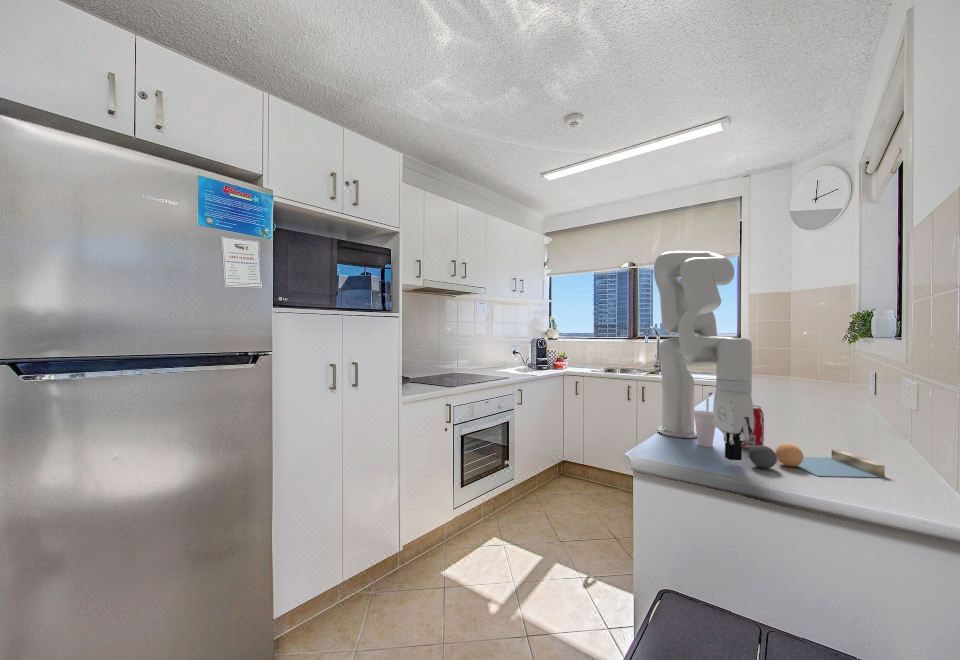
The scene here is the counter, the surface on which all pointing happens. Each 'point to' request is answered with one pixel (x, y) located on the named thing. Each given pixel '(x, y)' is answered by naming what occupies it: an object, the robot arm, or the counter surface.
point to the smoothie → (704, 426)
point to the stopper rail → (859, 462)
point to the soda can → (756, 429)
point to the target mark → (831, 468)
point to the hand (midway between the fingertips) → (733, 458)
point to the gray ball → (763, 456)
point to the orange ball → (789, 455)
